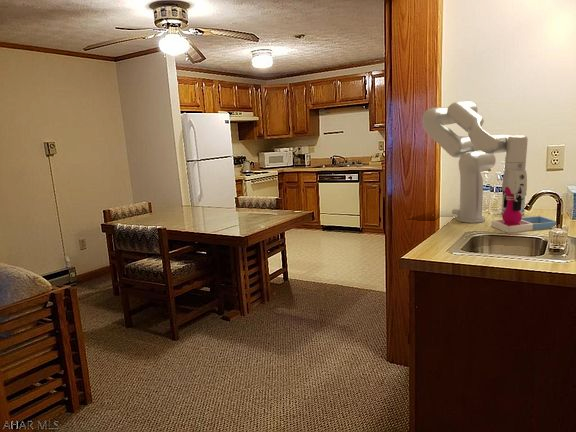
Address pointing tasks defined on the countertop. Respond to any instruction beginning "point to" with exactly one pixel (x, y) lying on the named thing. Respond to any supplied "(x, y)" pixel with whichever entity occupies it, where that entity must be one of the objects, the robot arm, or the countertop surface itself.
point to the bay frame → (525, 224)
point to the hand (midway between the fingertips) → (511, 208)
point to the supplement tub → (521, 206)
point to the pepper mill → (511, 210)
